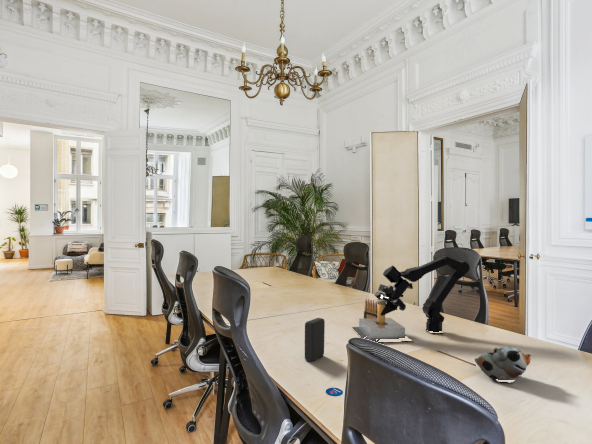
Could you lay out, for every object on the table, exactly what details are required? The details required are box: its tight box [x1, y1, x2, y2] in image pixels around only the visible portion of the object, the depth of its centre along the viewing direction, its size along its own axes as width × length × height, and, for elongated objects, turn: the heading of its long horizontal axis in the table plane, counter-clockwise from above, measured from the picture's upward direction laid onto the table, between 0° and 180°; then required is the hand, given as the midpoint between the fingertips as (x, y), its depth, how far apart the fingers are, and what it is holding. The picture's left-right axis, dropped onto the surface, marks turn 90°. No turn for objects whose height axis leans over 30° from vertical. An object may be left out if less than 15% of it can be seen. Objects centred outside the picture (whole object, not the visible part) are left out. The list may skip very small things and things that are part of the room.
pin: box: [376, 299, 386, 325], centre depth 162 cm, size 4×4×13 cm
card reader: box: [304, 317, 326, 362], centre depth 133 cm, size 9×4×15 cm, turn 141°
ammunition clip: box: [363, 298, 377, 318], centre depth 182 cm, size 11×2×12 cm, turn 35°
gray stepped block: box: [351, 317, 406, 344], centre depth 162 cm, size 22×22×6 cm
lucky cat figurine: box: [474, 346, 532, 381], centre depth 118 cm, size 15×12×14 cm
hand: (378, 314), depth 162 cm, fingers closed on pin, 4 cm apart
